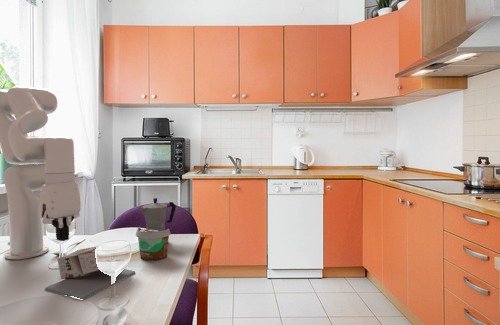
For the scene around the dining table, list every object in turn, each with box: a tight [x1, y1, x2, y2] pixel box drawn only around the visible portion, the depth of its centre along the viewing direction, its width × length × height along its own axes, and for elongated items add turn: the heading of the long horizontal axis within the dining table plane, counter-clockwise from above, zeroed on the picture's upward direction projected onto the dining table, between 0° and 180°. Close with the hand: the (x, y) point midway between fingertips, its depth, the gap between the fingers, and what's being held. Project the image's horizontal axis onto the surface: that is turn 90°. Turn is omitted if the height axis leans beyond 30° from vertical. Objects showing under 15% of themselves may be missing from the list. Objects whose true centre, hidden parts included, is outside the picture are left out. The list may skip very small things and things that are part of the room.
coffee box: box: [57, 246, 103, 280], centre depth 91 cm, size 9×6×16 cm
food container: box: [135, 226, 171, 262], centre depth 105 cm, size 12×6×10 cm, turn 76°
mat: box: [44, 268, 136, 300], centre depth 88 cm, size 14×18×1 cm
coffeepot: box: [138, 197, 177, 231], centre depth 122 cm, size 15×9×18 cm, turn 133°
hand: (62, 239), depth 93 cm, fingers closed
